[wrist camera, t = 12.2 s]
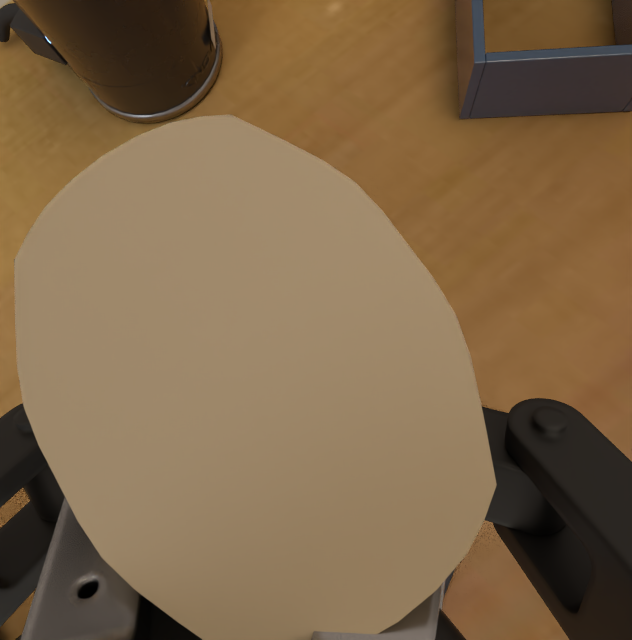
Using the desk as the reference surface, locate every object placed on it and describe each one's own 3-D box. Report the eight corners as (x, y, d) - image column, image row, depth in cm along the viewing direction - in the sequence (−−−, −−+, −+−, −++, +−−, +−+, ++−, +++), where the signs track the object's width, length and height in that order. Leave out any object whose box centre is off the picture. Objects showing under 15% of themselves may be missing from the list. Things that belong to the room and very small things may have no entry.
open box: (459, 119, 35) (474, 63, 29) (453, -24, 36) (467, -101, 31) (632, 111, 33) (681, 51, 28) (617, -36, 35) (660, -118, 30)
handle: (330, 521, 20) (200, 759, 6) (238, 375, 22) (-57, 261, 7) (439, 446, 20) (592, 487, 6) (340, 306, 22) (260, 49, 7)
